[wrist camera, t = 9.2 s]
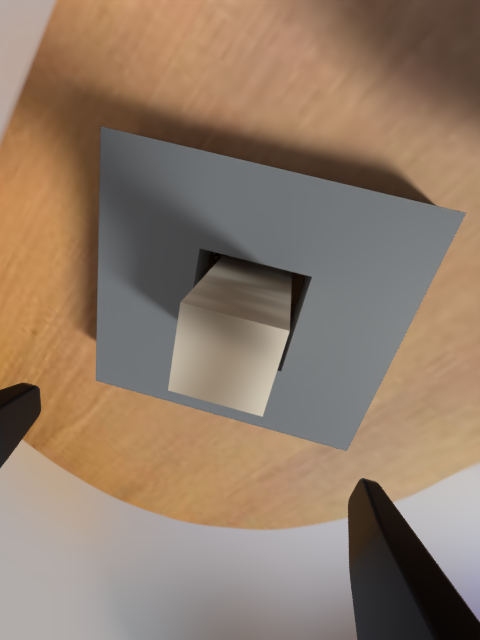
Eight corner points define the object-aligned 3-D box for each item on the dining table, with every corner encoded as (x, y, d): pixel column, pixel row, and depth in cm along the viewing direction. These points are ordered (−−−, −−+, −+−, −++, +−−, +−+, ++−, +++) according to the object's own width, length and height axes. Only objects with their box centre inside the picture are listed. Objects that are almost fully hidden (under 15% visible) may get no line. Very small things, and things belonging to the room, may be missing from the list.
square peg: (292, 270, 18) (289, 331, 11) (274, 330, 20) (262, 416, 13) (224, 253, 19) (180, 302, 11) (213, 314, 20) (167, 390, 13)
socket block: (437, 206, 16) (466, 212, 13) (340, 417, 22) (346, 451, 19) (131, 134, 17) (100, 126, 14) (119, 356, 23) (95, 380, 20)
